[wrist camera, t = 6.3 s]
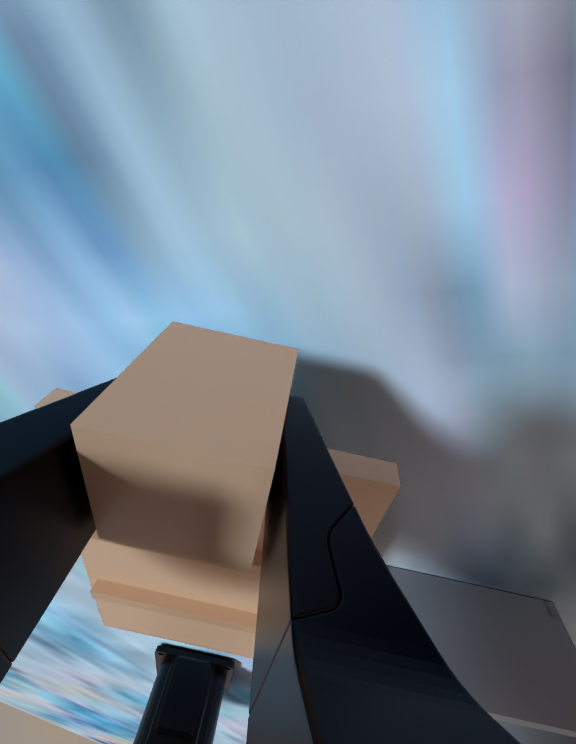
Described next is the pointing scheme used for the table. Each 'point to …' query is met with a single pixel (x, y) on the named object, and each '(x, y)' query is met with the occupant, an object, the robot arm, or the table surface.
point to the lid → (194, 484)
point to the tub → (502, 653)
